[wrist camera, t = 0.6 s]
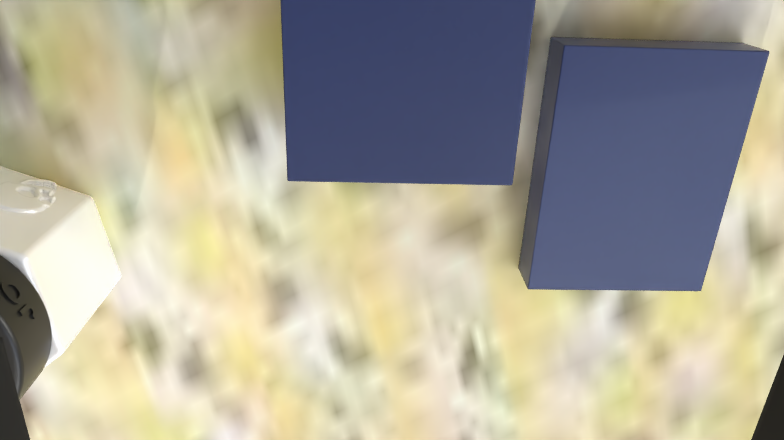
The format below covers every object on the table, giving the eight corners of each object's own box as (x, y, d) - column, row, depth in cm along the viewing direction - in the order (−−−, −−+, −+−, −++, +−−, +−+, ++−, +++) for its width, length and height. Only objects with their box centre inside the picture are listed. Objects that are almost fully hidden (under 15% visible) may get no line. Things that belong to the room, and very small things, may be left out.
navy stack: (530, 27, 30) (559, 44, 26) (710, 32, 31) (770, 50, 26) (502, 247, 35) (522, 294, 31) (657, 250, 36) (699, 296, 31)
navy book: (284, -176, 22) (273, -190, 19) (535, -164, 22) (558, -177, 20) (295, 156, 27) (287, 181, 25) (498, 160, 28) (512, 185, 25)
